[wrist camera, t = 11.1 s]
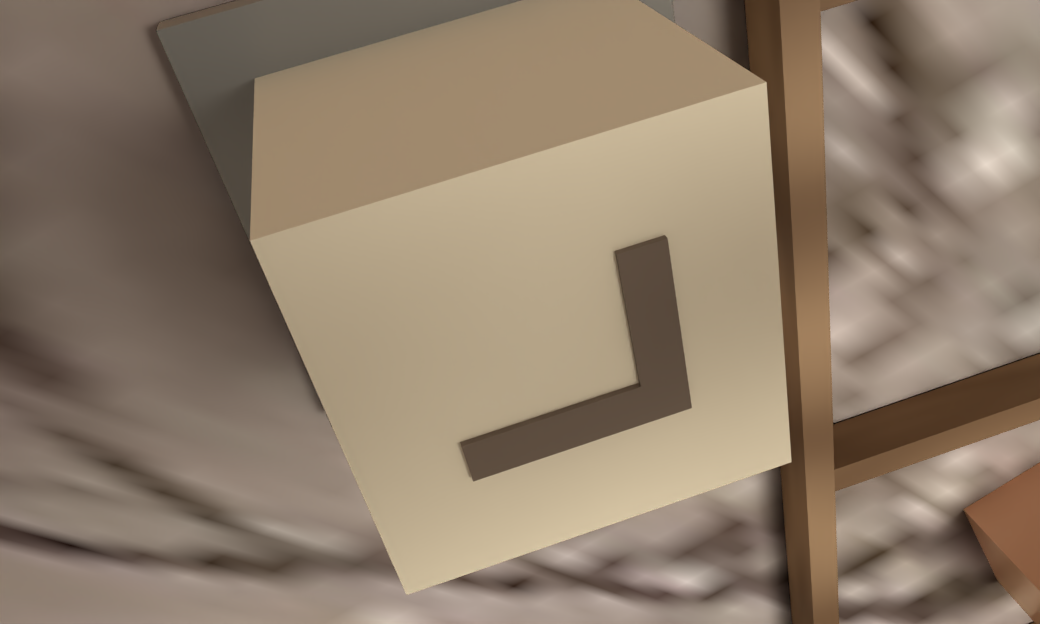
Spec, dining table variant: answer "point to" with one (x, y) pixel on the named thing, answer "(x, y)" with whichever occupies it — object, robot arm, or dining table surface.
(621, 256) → the letter cube
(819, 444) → the walnut rack
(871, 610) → the dining table surface
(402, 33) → the slate pad
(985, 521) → the terracotta block
